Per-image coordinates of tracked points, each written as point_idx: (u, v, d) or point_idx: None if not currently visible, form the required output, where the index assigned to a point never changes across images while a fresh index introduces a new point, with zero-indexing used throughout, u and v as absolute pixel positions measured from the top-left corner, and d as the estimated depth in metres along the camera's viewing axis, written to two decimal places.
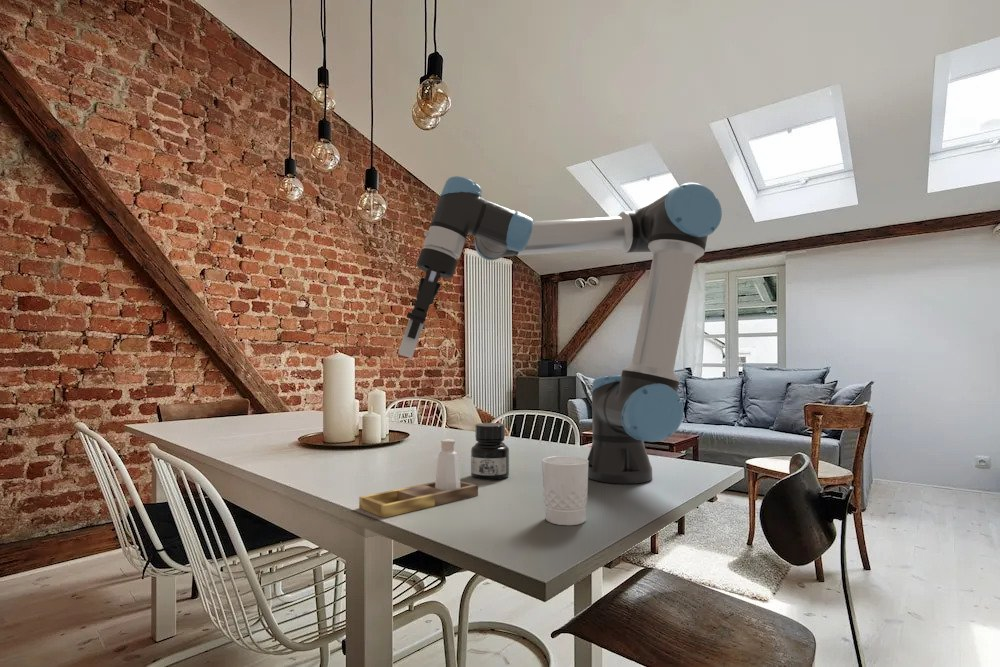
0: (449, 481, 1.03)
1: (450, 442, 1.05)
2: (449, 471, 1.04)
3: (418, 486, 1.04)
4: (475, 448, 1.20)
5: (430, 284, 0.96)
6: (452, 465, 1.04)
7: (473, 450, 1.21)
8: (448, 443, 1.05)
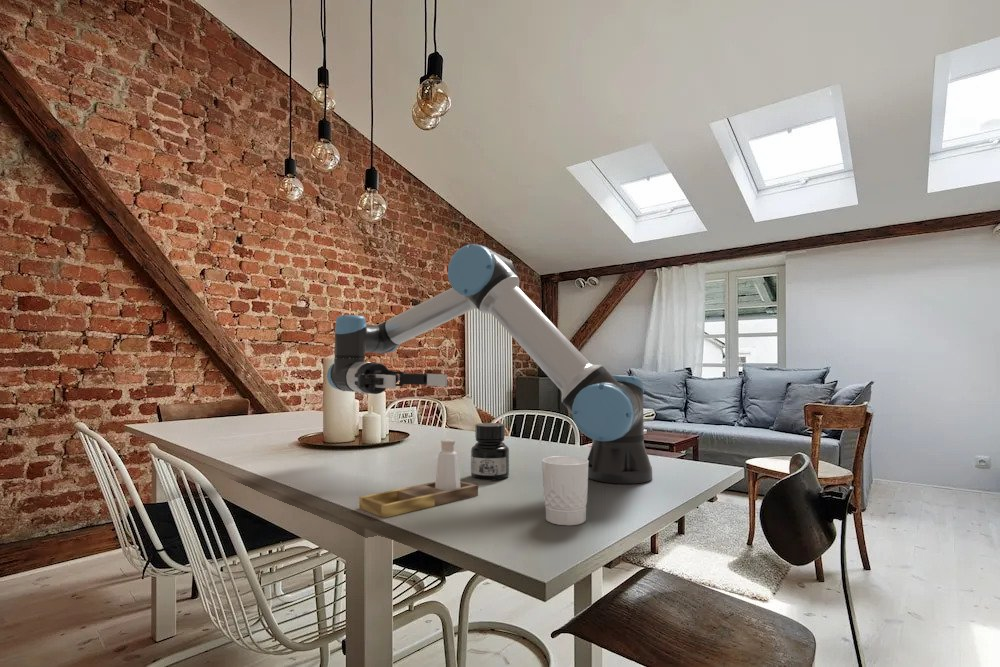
0: (449, 481, 1.03)
1: (450, 442, 1.05)
2: (449, 471, 1.04)
3: (418, 486, 1.04)
4: (475, 448, 1.20)
5: None
6: (452, 465, 1.04)
7: (473, 450, 1.21)
8: (448, 443, 1.05)
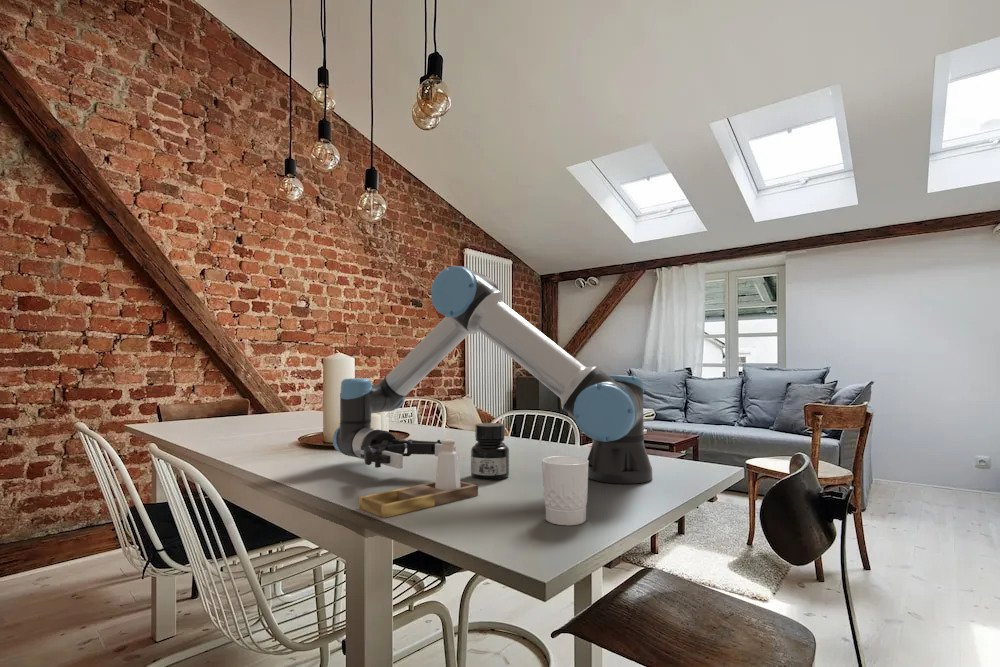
0: (449, 481, 1.03)
1: (450, 442, 1.05)
2: (449, 471, 1.04)
3: (418, 486, 1.04)
4: (475, 448, 1.20)
5: None
6: (452, 466, 1.04)
7: (473, 450, 1.21)
8: (448, 443, 1.05)
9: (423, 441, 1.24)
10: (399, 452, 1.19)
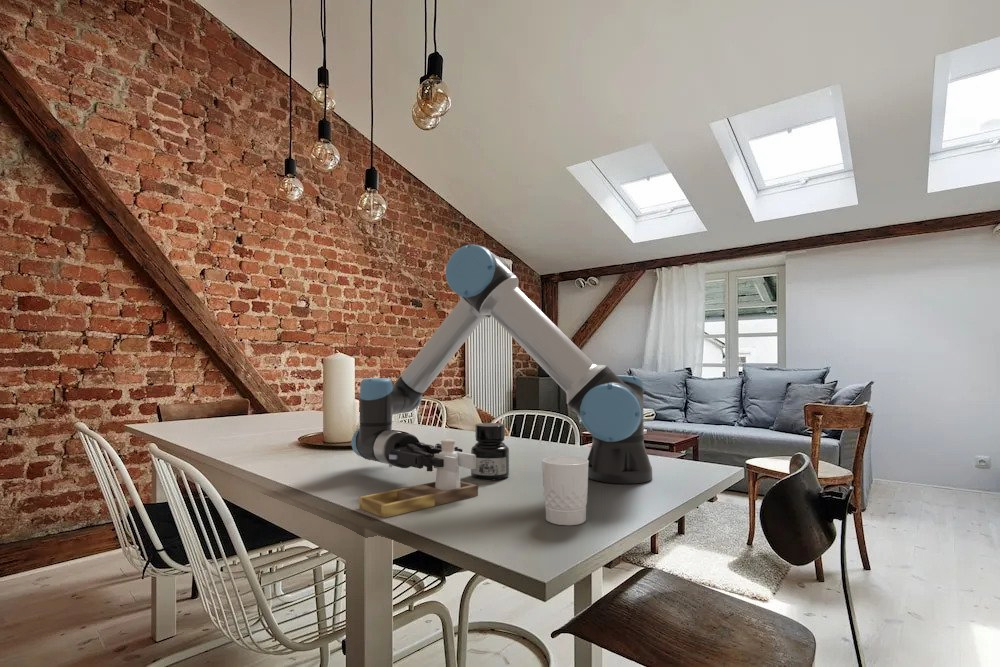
0: (449, 481, 1.03)
1: (450, 442, 1.05)
2: None
3: (418, 486, 1.04)
4: (475, 448, 1.20)
5: (398, 457, 1.08)
6: None
7: (473, 450, 1.21)
8: (448, 443, 1.05)
9: None
10: None
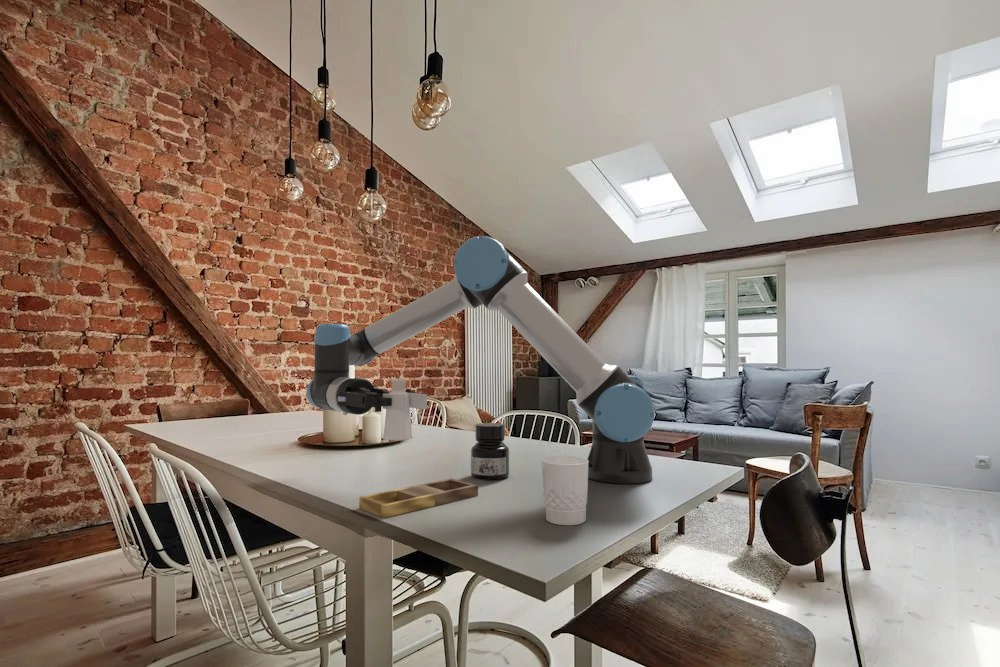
0: (398, 422, 0.96)
1: (400, 381, 0.98)
2: (398, 411, 0.97)
3: (418, 486, 1.04)
4: (475, 448, 1.20)
5: (347, 398, 1.01)
6: None
7: (473, 450, 1.21)
8: (398, 382, 0.98)
9: None
10: None
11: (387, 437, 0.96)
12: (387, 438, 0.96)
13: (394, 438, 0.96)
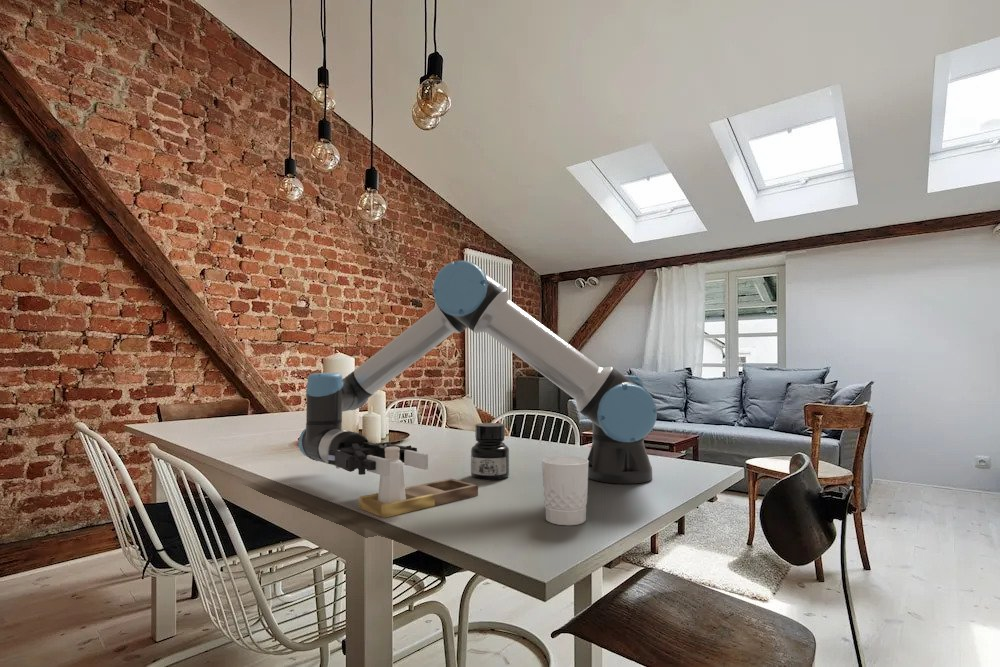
0: (392, 493, 0.94)
1: (394, 450, 0.96)
2: (392, 482, 0.95)
3: (418, 486, 1.04)
4: (475, 448, 1.20)
5: (335, 458, 0.99)
6: (396, 476, 0.95)
7: (473, 450, 1.21)
8: (392, 451, 0.96)
9: (397, 446, 1.06)
10: None
11: None
12: None
13: None
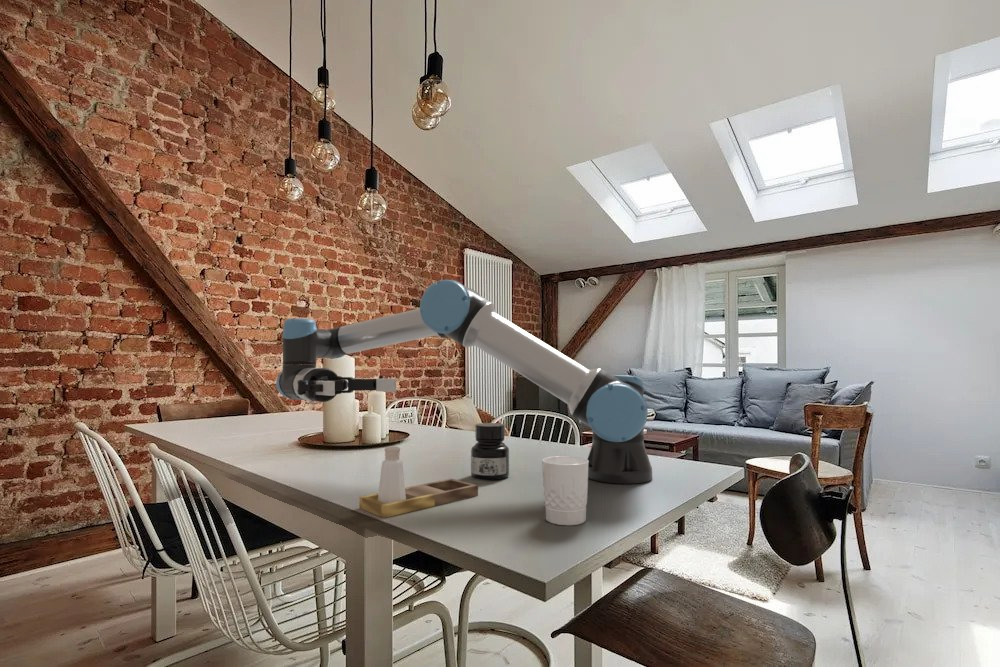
0: (392, 493, 0.94)
1: (394, 450, 0.96)
2: (392, 482, 0.95)
3: (418, 486, 1.04)
4: (475, 448, 1.20)
5: None
6: (396, 476, 0.95)
7: (473, 450, 1.21)
8: (392, 451, 0.96)
9: None
10: (339, 388, 1.14)
11: None
12: None
13: None
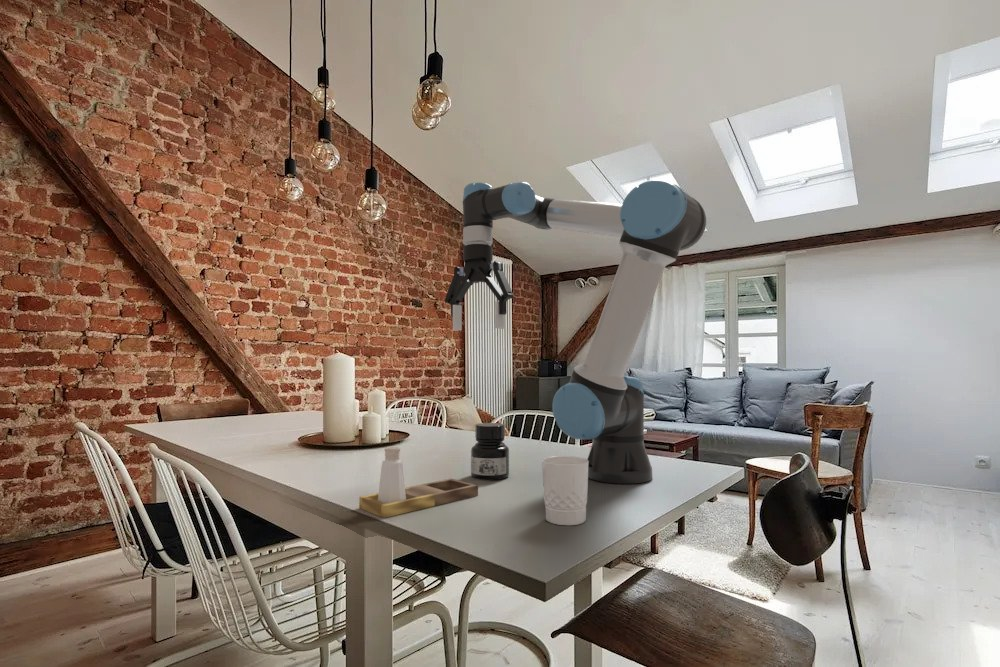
0: (392, 493, 0.94)
1: (394, 450, 0.96)
2: (392, 482, 0.95)
3: (418, 486, 1.04)
4: (475, 448, 1.20)
5: None
6: (396, 476, 0.95)
7: (473, 450, 1.21)
8: (392, 451, 0.96)
9: (498, 278, 1.28)
10: None
11: None
12: None
13: None
